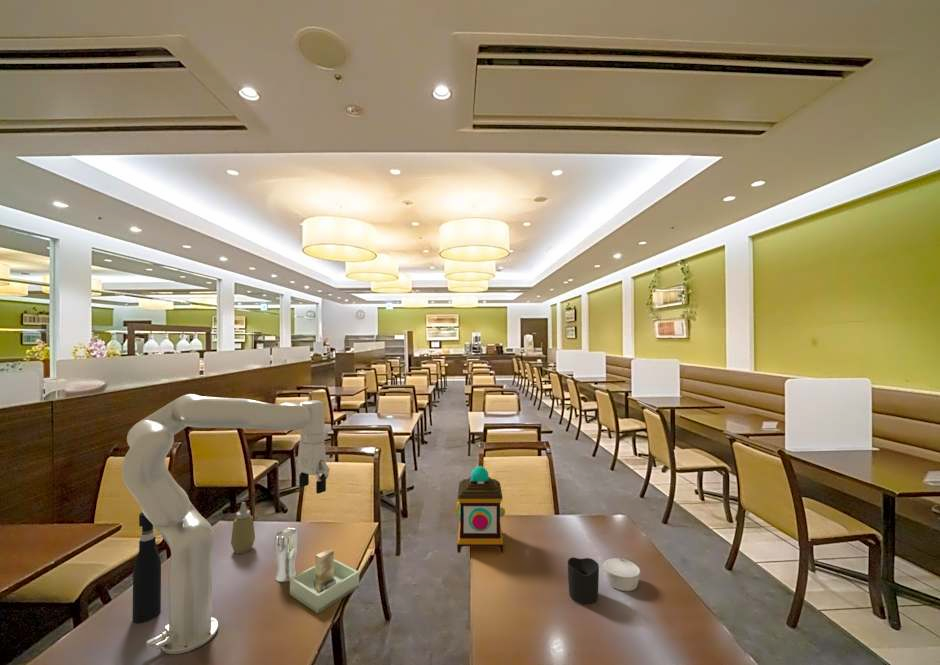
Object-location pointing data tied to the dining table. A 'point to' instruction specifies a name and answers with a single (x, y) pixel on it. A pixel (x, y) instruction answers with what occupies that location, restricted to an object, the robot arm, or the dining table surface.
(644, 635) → the dining table surface
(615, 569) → the ramekin
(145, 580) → the wine bottle
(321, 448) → the robot arm
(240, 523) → the squeeze bottle
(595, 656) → the dining table surface
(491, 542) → the decorative lantern
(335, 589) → the pale green prong tray
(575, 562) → the pen holder
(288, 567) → the metal tumbler
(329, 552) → the upright wooden plank
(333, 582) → the wick clip
